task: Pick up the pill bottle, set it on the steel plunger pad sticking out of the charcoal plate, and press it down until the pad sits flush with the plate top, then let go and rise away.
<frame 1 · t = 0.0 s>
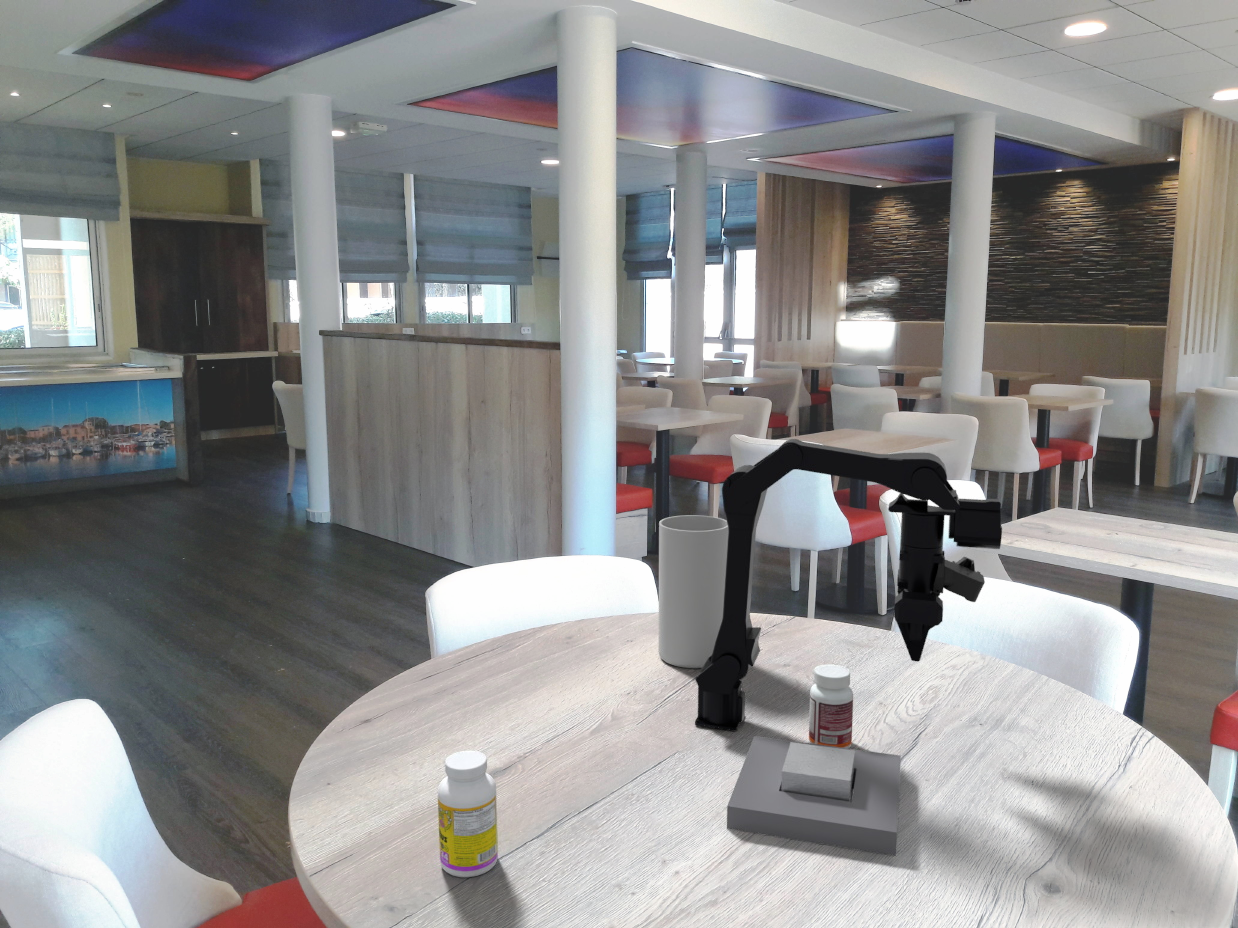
hand: (915, 649, 137), 15 cm above the table, tool pointing down, fingers open, 9 cm apart
supplement bottle: (469, 864, 111), on the table
cylinder vase: (692, 657, 175), on the table
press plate: (817, 800, 124), on the table
plunger pad: (818, 770, 124), point 4 cm above the table, slide at 0.0 cm
pill bottle: (829, 745, 140), on the table
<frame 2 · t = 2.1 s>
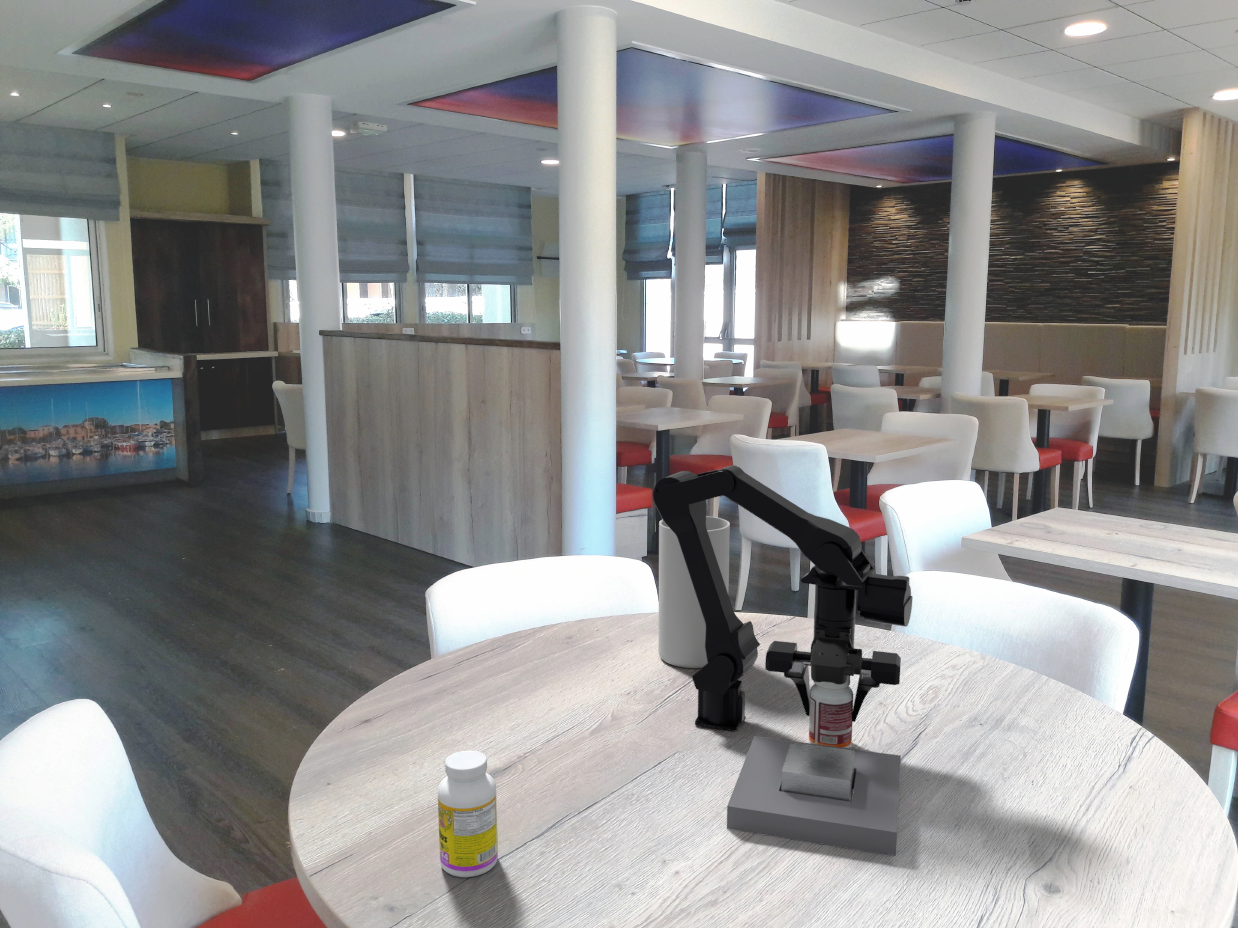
hand: (830, 717, 140), 4 cm above the table, tool pointing down, fingers closed on pill bottle, 6 cm apart
pill bottle: (829, 744, 140), on the table, touching gripper
everything else where it was.
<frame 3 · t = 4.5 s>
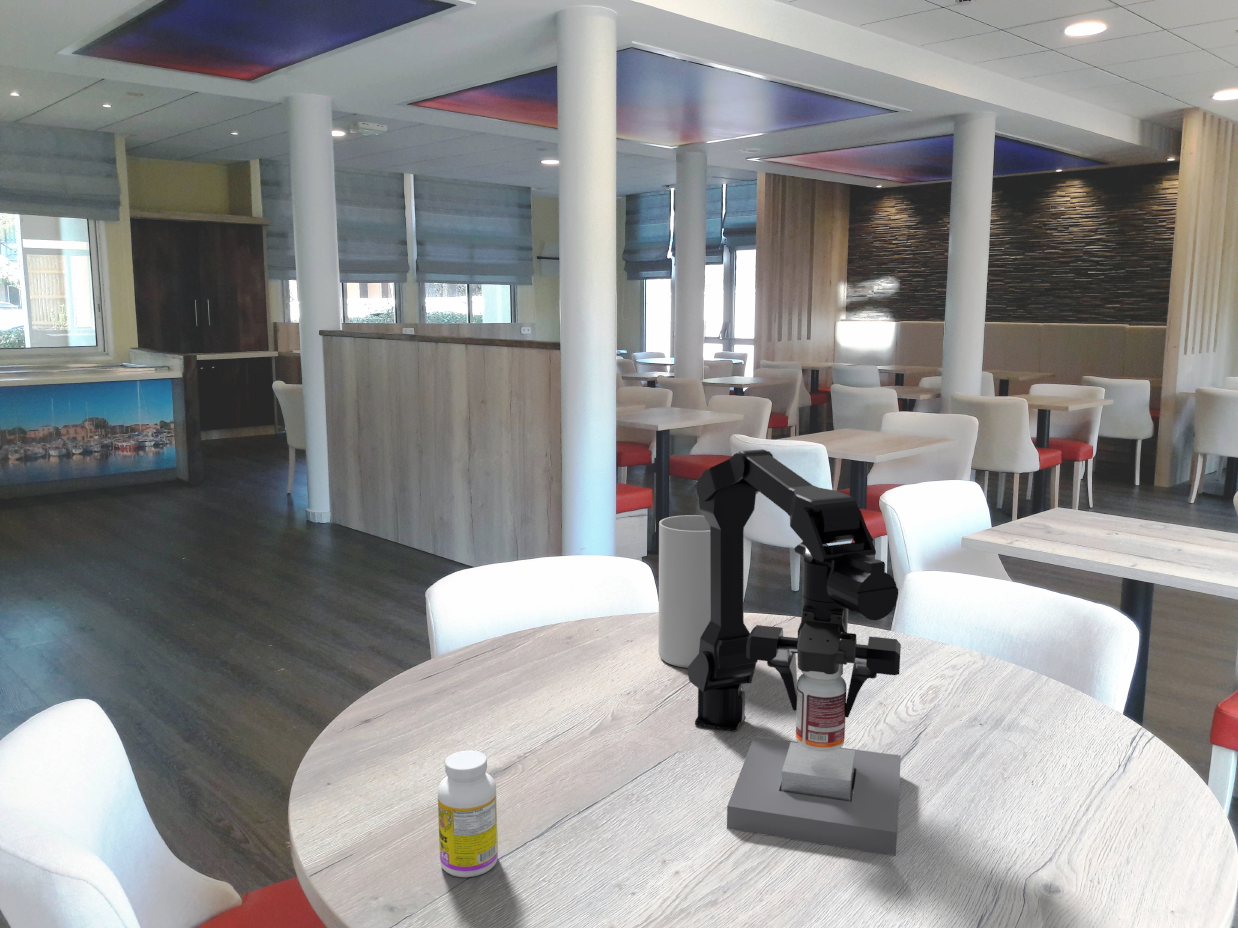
hand: (820, 712, 122), 12 cm above the table, tool pointing down, fingers closed on pill bottle, 6 cm apart
pill bottle: (819, 743, 123), point 8 cm above the table, touching gripper
everything else where it was.
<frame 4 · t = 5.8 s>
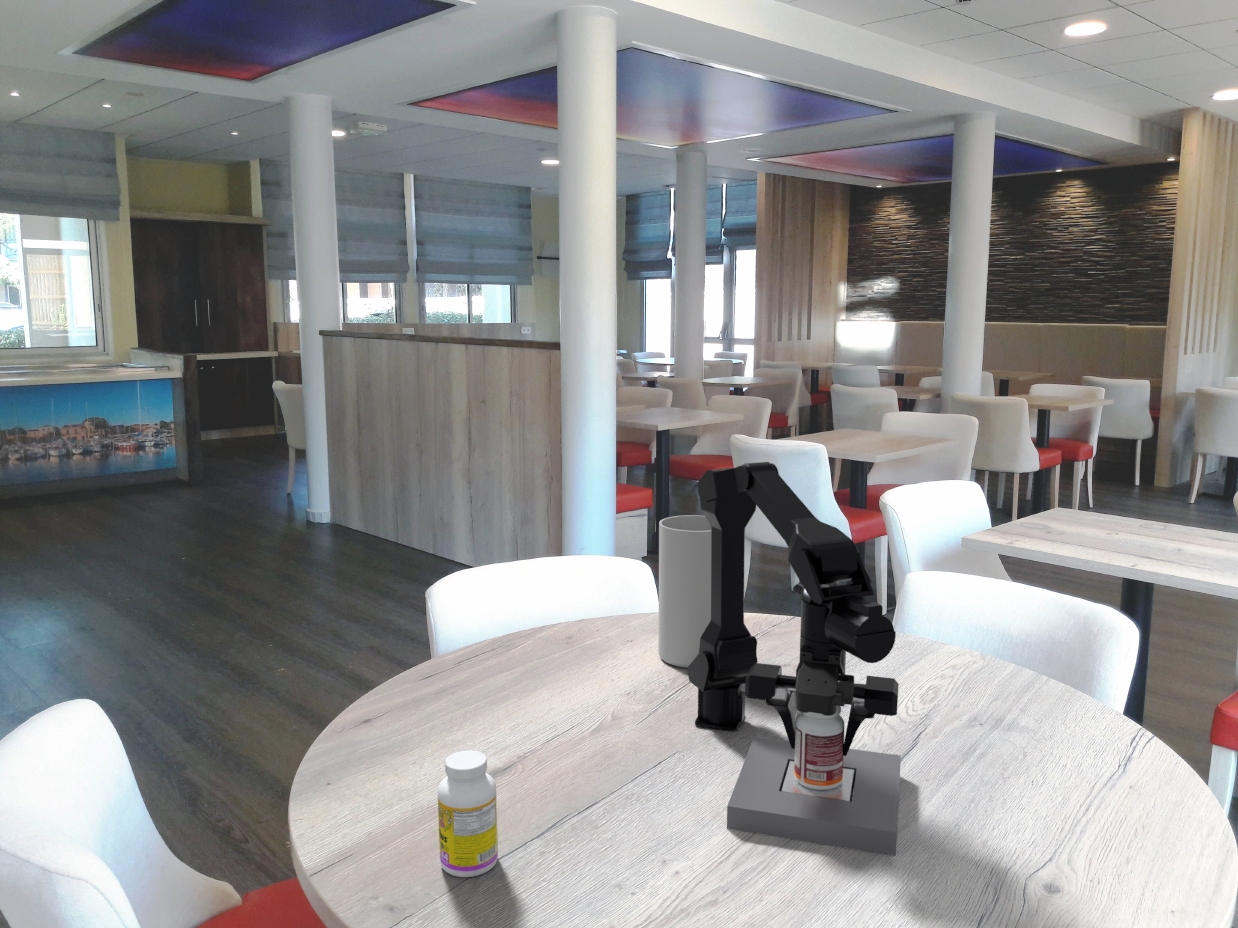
hand: (819, 750, 123), 7 cm above the table, tool pointing down, fingers closed on pill bottle, 6 cm apart
plunger pad: (818, 790, 124), point 1 cm above the table, slide at 2.7 cm, touching pill bottle
pill bottle: (817, 781, 124), point 3 cm above the table, touching gripper, plunger pad
everything else where it was.
when the fingers open (7 cm above the table, at t = 7.2 s): pill bottle stays where it is, resting on plunger pad.
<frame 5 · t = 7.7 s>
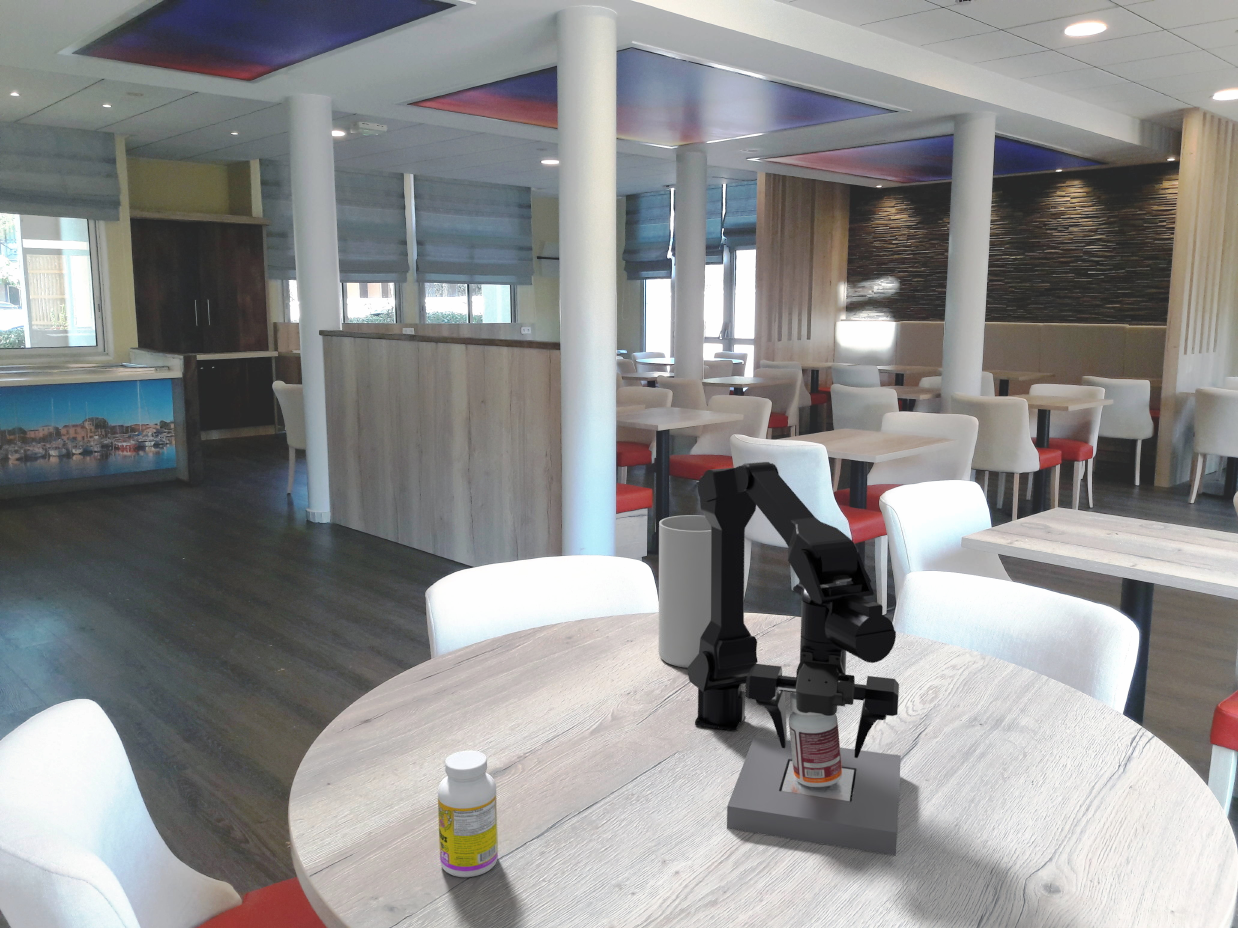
hand: (819, 751, 123), 7 cm above the table, tool pointing down, fingers open, 9 cm apart
pill bottle: (818, 778, 124), point 3 cm above the table, touching gripper, plunger pad
everything else where it was.
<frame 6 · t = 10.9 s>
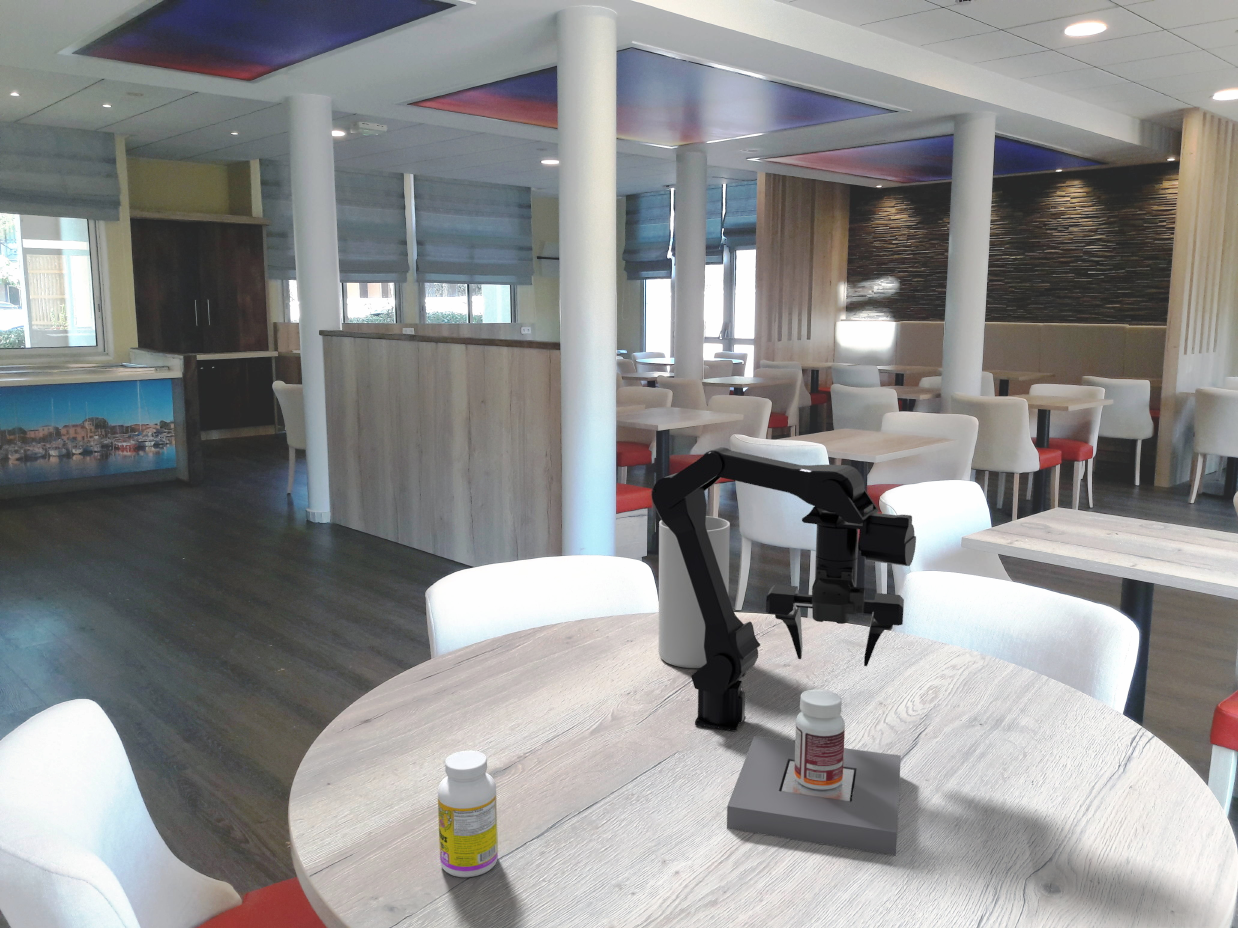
hand: (832, 661, 137), 13 cm above the table, tool pointing down, fingers open, 9 cm apart
pill bottle: (817, 780, 124), point 3 cm above the table, touching plunger pad
everything else where it was.
at the end: plunger pad slide at 2.7 cm; pill bottle 0.1 cm off-centre on the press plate, point 2.7 cm above the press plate's base; pill bottle tilted 0° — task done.
